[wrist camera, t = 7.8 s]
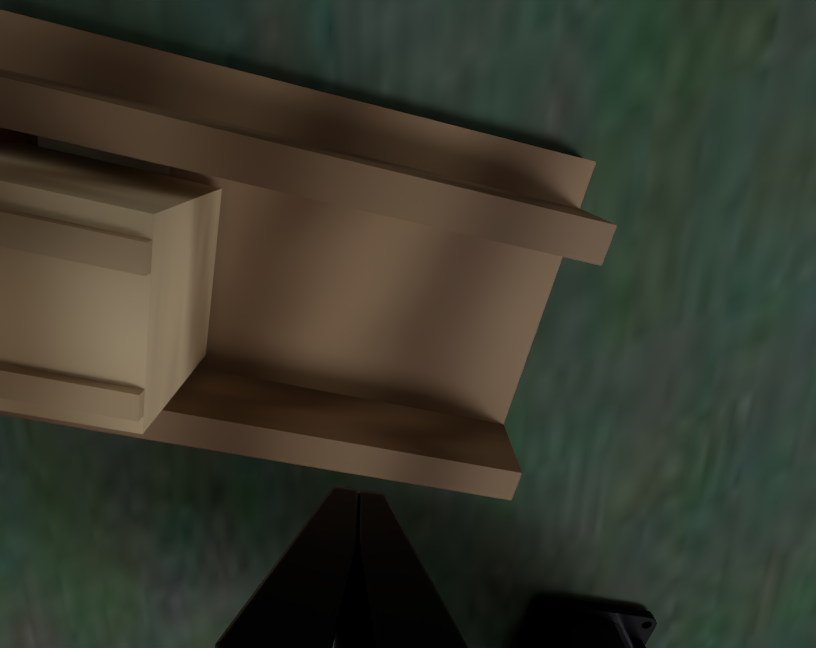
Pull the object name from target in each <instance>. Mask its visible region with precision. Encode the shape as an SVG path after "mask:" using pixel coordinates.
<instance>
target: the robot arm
mask: <svg viewBox="0 0 816 648" xmlns="http://www.w3.org/2000/svg"><path fill="white" fill-rule="evenodd" d="M656 624H657V623H656V620H655V618H654V616H653V615H652V613H651V612H649V611H644V610H638V609H631V608H624V607H617V606H610V605H603V604H596V603H589V602H583V601H576V600H569V599H562V598H555V597H548V596H539V597H536V598H534V599H533V600H532V602H531V604H530V606H529V609H528V611H527V613H526V615H525V618H524V620H523V622H522V624H521V627H520V629H519V631H518V632H517V634H516V635H515V637H514V639H513V641H512V643H511V646H510V648H646V647H645V644H646V643H647V641H648V639H649V637H650V636H651V634H652V632H653V630H654V629H655V627H656ZM334 638H335V643H334V648H468V646H467V644H466V642H465V641H464V639H463V637H462V635H461V633H460V631H459V630H458V628H457V626H456V624H455V622H454V621H453V619H452V617H451V615H450V613H449V611H448V610H447V608H446V606H445V604H444V602H443V600H442V599H441V597H440V595H439V593H438V591H437V589H436V588H435V586H434V584H433V582H432V580H431V579H430V577H429V575H428V573H427V571H426V569H425V568H424V566H423V564H422V562H421V560H420V558H419V557H418V555H417V553H416V551H415V549H414V547H413V546H412V544H411V542H410V540H409V538H408V537H407V535H406V533H405V531H404V529H403V527H402V526H401V524H400V522H399V520H398V518H397V516H396V515H395V513H394V511H393V509H392V507H391V506H390V504H389V502H388V500H387V498H386V497H385V495H384V494H382V493H377V492H371V491H365V490H362V491H360V493H358V491H357V490H356V489H352V488H346V487H340V486H335V487H334V488H332V489H331V491H330V492H329V493H328V495H327V496H326V497H325V499H324V500H323V501H322V503H321V504H320V505H319V507H318V508H317V509H316V511H315V512H314V513H313V515H312V516H311V517H310V519H309V520H308V521H307V523H306V524H305V525H304V527H303V528H302V529H301V531H300V532H299V533H298V535H297V536H296V537H295V539H294V540H293V541H292V543H291V544H290V545H289V547H288V548H287V549H286V551H285V552H284V553H283V555H282V556H281V557H280V559H279V560H278V561H277V563H276V564H275V565H274V567H273V568H272V569H271V571H270V572H269V573H268V575H267V576H266V577H265V579H264V580H263V581H262V583H261V584H260V585H259V587H258V588H257V589H256V591H255V592H254V593H253V595H252V596H251V597H250V599H249V600H248V601H247V603H246V604H245V605H244V607H243V608H242V609H241V611H240V612H239V613H238V615H237V616H236V617H235V619H234V620H233V621H232V623H231V624H230V625H229V627H228V628H227V629H226V631H225V632H224V633H223V635H222V636H221V637H220V639H219V640H218V641H217V643H216V645H215V648H332V646H333V642H334Z"/></svg>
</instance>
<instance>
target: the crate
mask: <svg viewBox="0 0 816 648" xmlns="http://www.w3.org/2000/svg"><path fill="white" fill-rule="evenodd" d="M221 194H222V188H219V187H215V186H210V185H206V184H202V183H197V182H193V181H188V180H184V179H180V178H175V177H171V176H167V175H162V174H158V173H153V172H149V171H145V170H140V169H136V168H131V167H127V166H123V165H118V164H114V163H109V162H105V161H101V160H96V159H92V158H88V157H83V156H79V155H74V154H70V153H66V152H61V151H57V150H52V149H48V148H44V147H39V146H35V145H30V144H26V143H4V144H0V410H1V411H7V412H13V413H19V414H25V415H31V416H37V417H43V418H49V419H55V420H61V421H67V422H73V423H78V424H84V425H90V426H96V427H102V428H108V429H114V430H120V431H126V432H132V433H138V434H143V433H144V432H145V431H146V429H147V428H148V427H149V426H150V424H151V423H152V422H153V421H154V419H155V418H156V417H157V416H158V414H159V413H160V412H161V411H162V409H163V408H164V407H165V406H166V404H167V403H168V402H169V400H170V399H171V398H172V397H173V395H174V394H175V393H176V392H177V390H178V389H179V388H180V387H181V385H182V384H183V383H184V382H185V380H186V379H187V378H188V377H189V375H190V374H191V373H192V372H193V370H194V369H195V368H196V366H197V365H198V364H199V363H200V361H201V360H202V359H203V358H204V356H205V355H206V347H207V336H208V326H209V316H210V306H211V296H212V286H213V275H214V265H215V255H216V245H217V235H218V224H219V214H220V204H221Z"/></svg>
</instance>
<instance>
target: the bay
mask: <svg viewBox="0 0 816 648" xmlns="http://www.w3.org/2000/svg"><path fill="white" fill-rule="evenodd" d="M4 143H26V144H30V145H35V146H39V147H44V148H48V149H52V150H57V151H61V152H66V153H70V154H74V155H79V156H83V157H88V158H92V159H96V160H101V161H105V162H109V163H114V164H118V165H123V166H127V167H131V168H136V169H140V170H145V171H149V172H153V173H158V174H162V175H167V176H171V177H175V178H180V179H184V180H188V181H193V182H197V183H202V184H206V185H210V186H215V187H219V188H222V194H221V204H220V214H219V224H218V235H217V245H216V255H215V265H214V275H213V286H212V296H211V306H210V316H209V326H208V336H207V347H206V355H205V356H204V358H203V359H202V360H201V361H200V363H199V364H198V365H197V366H196V368H195V369H194V370H193V372H192V373H191V374H190V375H189V377H188V378H187V379H186V380H185V382H184V383H183V384H182V385H181V387H180V388H179V389H178V390H177V392H176V393H175V394H174V395H173V397H172V398H171V399H170V400H169V402H168V403H167V404H166V406H165V407H164V408H163V409H162V411H161V412H160V413H159V414H158V416H157V417H156V418H155V419H154V421H153V422H152V423H151V424H150V426H149V427H148V428H147V429H146V431H145V432H144V433H143V434H138V433H132V432H126V431H120V430H114V429H108V428H102V427H96V426H90V425H84V424H78V423H73V422H67V421H61V420H55V419H49V418H43V417H37V416H31V415H25V414H19V413H13V412H7V411H1V410H0V415H5V416H11V417H17V418H23V419H29V420H35V421H40V422H46V423H52V424H58V425H64V426H70V427H76V428H82V429H88V430H94V431H100V432H106V433H112V434H118V435H124V436H130V437H136V438H142V439H148V440H154V441H160V442H166V443H172V444H178V445H184V446H190V447H196V448H202V449H208V450H213V451H219V452H225V453H231V454H237V455H243V456H249V457H255V458H261V459H267V460H273V461H279V462H285V463H291V464H297V465H303V466H309V467H315V468H321V469H327V470H333V471H339V472H345V473H351V474H357V475H363V476H369V477H375V478H381V479H387V480H392V481H398V482H404V483H410V484H416V485H422V486H428V487H434V488H440V489H446V490H452V491H458V492H464V493H470V494H476V495H482V496H488V497H494V498H500V499H506V500H512V498H513V495H514V492H515V490H516V487H517V485H518V482H519V479H520V477H521V474H522V472H521V469H520V467H519V464H518V461H517V459H516V456H515V454H514V451H513V448H512V446H511V443H510V440H509V438H508V435H507V433H506V430H505V427H504V425H503V424H504V421H505V419H506V416H507V413H508V410H509V407H510V404H511V402H512V399H513V396H514V393H515V390H516V387H517V385H518V382H519V379H520V376H521V373H522V370H523V368H524V365H525V362H526V359H527V356H528V353H529V351H530V348H531V345H532V342H533V339H534V336H535V334H536V331H537V328H538V325H539V322H540V319H541V317H542V314H543V311H544V308H545V305H546V302H547V300H548V297H549V294H550V291H551V288H552V285H553V283H554V280H555V277H556V274H557V271H558V269H559V266H560V263H561V260H562V257H566V258H570V259H575V260H579V261H583V262H588V263H592V264H597V265H601V266H602V263H603V261H604V258H605V256H606V253H607V250H608V248H609V245H610V243H611V240H612V237H613V235H614V232H615V230H616V227H617V225H615V224H613V223H611V222H608V221H606V220H604V219H602V218H599V217H597V216H595V215H593V214H590V213H588V212H586V211H584V210H581V209H580V206H581V203H582V201H583V198H584V195H585V192H586V189H587V186H588V184H589V181H590V178H591V175H592V172H593V169H594V167H595V164H596V162H595V161H591V160H587V159H583V158H579V157H575V156H571V155H567V154H563V153H560V152H556V151H552V150H548V149H544V148H540V147H536V146H532V145H528V144H524V143H520V142H517V141H513V140H509V139H505V138H501V137H497V136H493V135H489V134H485V133H481V132H477V131H474V130H470V129H466V128H462V127H458V126H454V125H450V124H446V123H442V122H438V121H434V120H431V119H427V118H423V117H419V116H415V115H411V114H407V113H403V112H399V111H395V110H391V109H388V108H384V107H380V106H376V105H372V104H368V103H364V102H360V101H356V100H352V99H348V98H345V97H341V96H337V95H333V94H329V93H325V92H321V91H317V90H313V89H309V88H305V87H302V86H298V85H294V84H290V83H286V82H282V81H278V80H274V79H270V78H266V77H262V76H258V75H255V74H251V73H247V72H243V71H239V70H235V69H231V68H227V67H223V66H219V65H215V64H212V63H208V62H204V61H200V60H196V59H192V58H188V57H184V56H180V55H176V54H172V53H169V52H165V51H161V50H157V49H153V48H149V47H145V46H141V45H137V44H133V43H129V42H126V41H122V40H118V39H114V38H110V37H106V36H102V35H98V34H94V33H90V32H86V31H83V30H79V29H75V28H71V27H67V26H63V25H59V24H55V23H51V22H47V21H43V20H40V19H36V18H32V17H28V16H24V15H20V14H16V13H12V12H8V11H4V10H0V144H4Z"/></svg>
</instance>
